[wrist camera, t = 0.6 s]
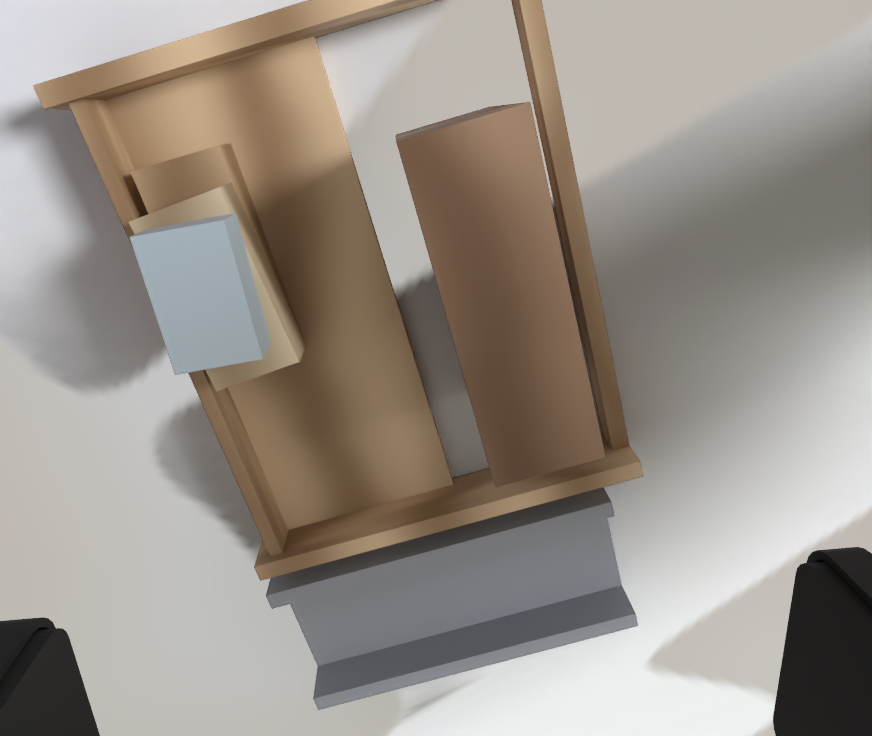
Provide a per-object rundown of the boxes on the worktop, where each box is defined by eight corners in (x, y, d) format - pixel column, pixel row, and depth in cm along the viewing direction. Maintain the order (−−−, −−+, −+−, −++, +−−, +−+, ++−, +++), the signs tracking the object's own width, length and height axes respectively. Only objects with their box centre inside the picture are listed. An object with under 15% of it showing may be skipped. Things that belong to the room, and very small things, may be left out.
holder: (595, 473, 34) (611, 501, 31) (621, 590, 37) (638, 625, 34) (275, 561, 35) (266, 595, 32) (323, 669, 37) (318, 709, 35)
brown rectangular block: (488, 107, 28) (530, 102, 19) (549, 368, 32) (605, 457, 23) (395, 134, 28) (396, 141, 19) (468, 390, 32) (495, 487, 24)
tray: (522, -51, 26) (538, -71, 23) (622, 446, 33) (643, 476, 31) (71, 89, 26) (32, 85, 24) (271, 542, 34) (260, 580, 31)
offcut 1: (235, 212, 24) (223, 220, 22) (271, 343, 26) (262, 359, 24) (148, 228, 24) (129, 237, 22) (189, 358, 26) (175, 374, 24)
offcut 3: (231, 182, 26) (218, 187, 24) (305, 345, 28) (299, 361, 26) (147, 214, 26) (128, 222, 24) (228, 373, 28) (216, 391, 26)
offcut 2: (230, 143, 27) (218, 145, 25) (306, 347, 30) (300, 362, 28) (148, 168, 27) (130, 171, 25) (232, 368, 30) (221, 384, 28)
